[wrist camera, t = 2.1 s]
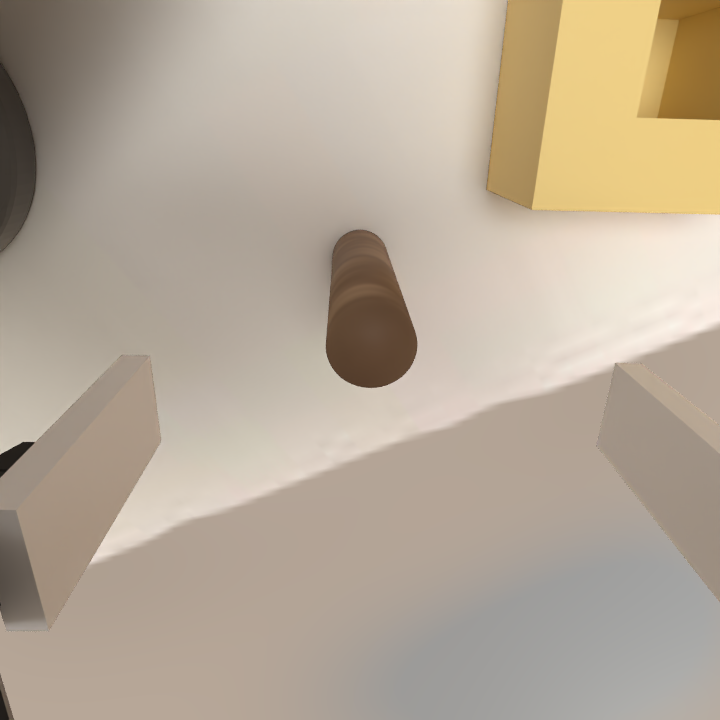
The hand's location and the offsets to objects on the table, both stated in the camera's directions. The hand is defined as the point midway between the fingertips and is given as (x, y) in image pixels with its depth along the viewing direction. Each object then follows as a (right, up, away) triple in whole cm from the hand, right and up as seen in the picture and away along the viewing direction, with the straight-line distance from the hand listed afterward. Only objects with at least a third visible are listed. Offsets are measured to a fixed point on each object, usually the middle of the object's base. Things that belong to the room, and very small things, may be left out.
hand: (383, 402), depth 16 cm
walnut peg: (-1, +7, +16) cm, 18 cm away
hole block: (+13, +16, +13) cm, 24 cm away
